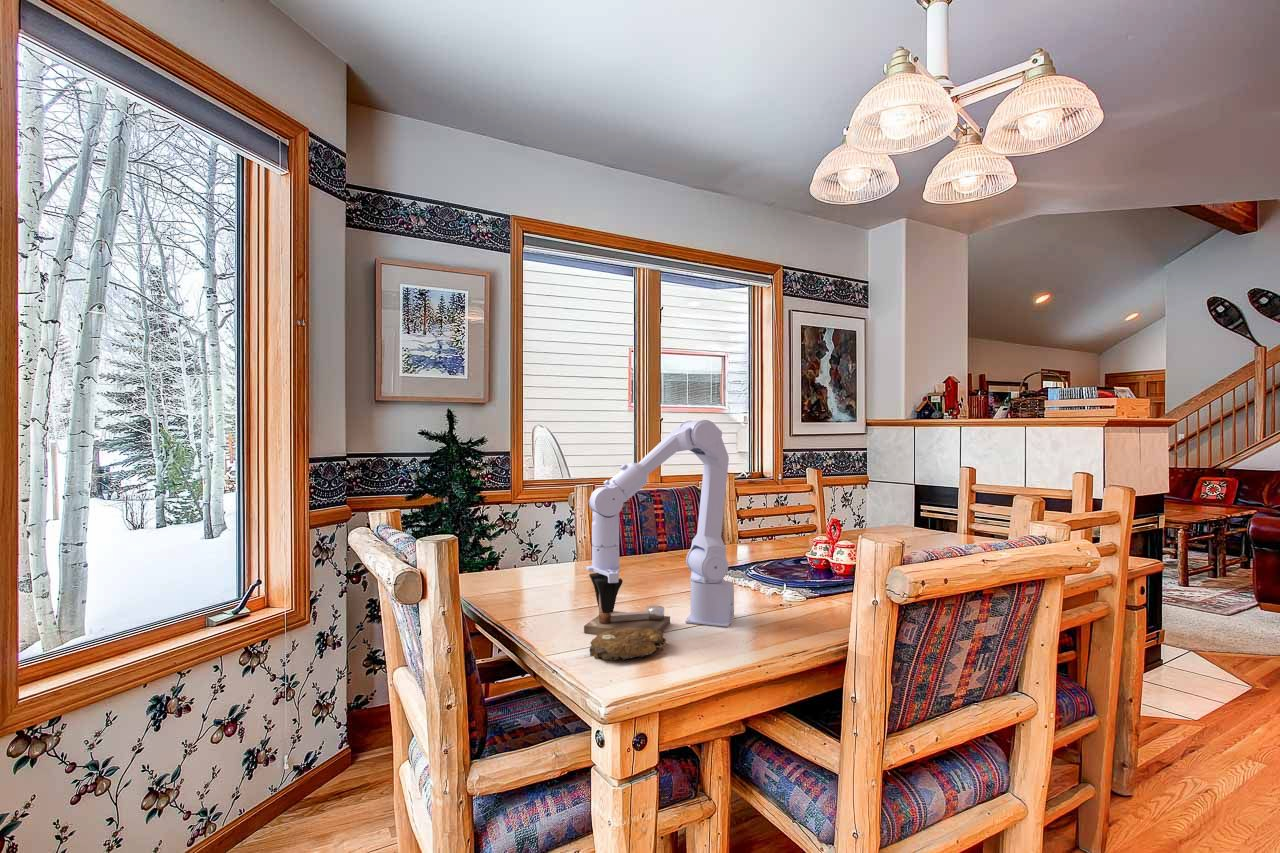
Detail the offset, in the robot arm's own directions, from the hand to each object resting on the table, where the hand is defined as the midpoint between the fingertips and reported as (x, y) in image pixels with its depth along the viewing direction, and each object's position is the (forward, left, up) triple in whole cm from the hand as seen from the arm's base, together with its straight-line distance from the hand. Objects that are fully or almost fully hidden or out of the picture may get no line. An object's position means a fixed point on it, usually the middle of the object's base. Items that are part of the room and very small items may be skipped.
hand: (605, 610), depth 129 cm
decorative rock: (-9, +10, -5) cm, 14 cm away
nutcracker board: (-4, -3, -4) cm, 6 cm away
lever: (-5, -3, -2) cm, 6 cm away
